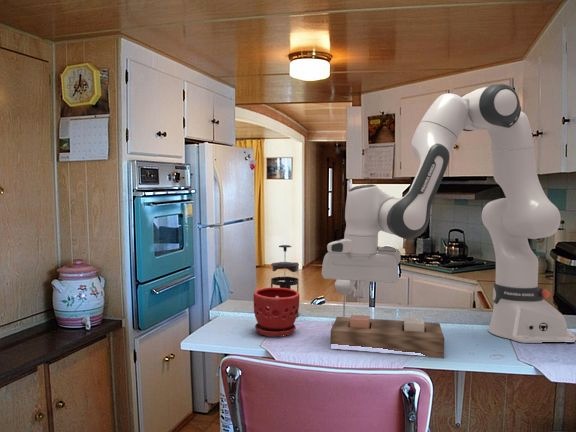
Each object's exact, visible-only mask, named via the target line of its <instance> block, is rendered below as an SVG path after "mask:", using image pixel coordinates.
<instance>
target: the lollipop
mask: <svg viewBox="0 0 576 432" xmlns="http://www.w3.org/2000/svg"><path fill="white" fill-rule="evenodd" d="M354 286H355V287H356V284H355V285H354ZM334 289H335V291H336V292H337V293H338V295H341V296H343V304H342V305H343V308H342V309H343V310H342V313H343V315H342V317H346V314H345V313H346V296H348V295H350V294H352V293H353V292H354V291H353V290H352V288H351V286H350V280H337V279H335V282H334Z"/></svg>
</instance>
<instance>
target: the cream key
mask: <svg viewBox="0 0 576 432" xmlns="http://www.w3.org/2000/svg"><path fill="white" fill-rule="evenodd" d="M403 321H404V331H413V332H424V322H425V320H424V318H415V317H412V318H410V317H404V318H403Z"/></svg>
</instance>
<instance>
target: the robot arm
mask: <svg viewBox="0 0 576 432" xmlns="http://www.w3.org/2000/svg"><path fill="white" fill-rule="evenodd" d="M481 130H485V131H486V132H487V133H488V135H489V138H490V151H491V162H492V173H493V180H494V181H495V182H496V184H498V185H499V187H500V188H501V189H502V192H503V194H504V196H505V197H502V198H498V199H494V200H491V201H489V202H487V203H486V205H484V206H483V209H482V211H481V221H482V223H483V225H484V227H485V228H486V229H487V231H488V233H489V236H490V238H491V242H492V245H493V250H494V255H495V282H494V283H493V288H492V301H493V308H492V314H491V317H490V318H491V319H490V321H489V322H490V323H489V325H488V328H487V331H488V332H489V333H491V334H493V335H495V336H497V337H501V338H505V339H509V340H513V341H516V342H518V343H522V344H523V343H525V344H526V343H528V344H529V343H530V344H531V343H532V344H535V343H536V344H543V343H542V342H565V341H575V340H576V335H575V334H574V333H573V332H571V331H570V330H568V325H567V321H566V318H565V317H564V315H563V314H562V313H561V312H560V311H559V310H558V309H556V308H555V307H554V306H553V305H551V304H550V303H549V302H547V300H545V298H546V299H547V298H548V299H549V298H550V297H551V292H550V291H549V290H547V289H545V288H543V287H540V286H539V284H538V282H539V259H538V257H537V255H536V254H535V252H533V250H532V248H531V246H530V243H529V239H530V240H531V239H532V240H537V239H544V238H549V237H551V236H554V234H556V232H557V231H558V230H559V227H560V225H561V220H562V219H561V213H560V210H559V209H558V207H557V206H556V205H555V204H554V203H553V202H552V201H551V200H550V199H549V198H548V196H547V195H546V194H545V191H544V190H543V186H542V185H541V183H540V180H539V176H538V171H537V162H536V155H535V154H536V153H535V145H534V136H533V132H532V131H533V130H532V128H531V124H530V121H529V117H528V116H527V114H526V113H525V112H524V111H522V108H521V102H520V98H519V95H518V93H517V92H516V90H515V89H514V88H513V87H512V86H510V85H508V84H502V83H498V84H497V83H496V84H492V85H489V86H484V87H480V88H477V89H474V90H473V91H471V92H468V93H466V94H463V95H461V96H460V95H458V94H456V93H452V92H451V93H450V92H449V93H443V94H441V95H439V96H438V97H437V98H436V99H435V100H434V101H433V103H432V104H431V105H430V107H429V108H428V109H427V111H426V112H425V114H424V115H423V116H422V119H420V122H419V123H418V125H417V127H416V129H415V131H414V133H413V136H412V140H411V143H410V145H411V151H412V153H413V154H414V156H415V157H416V159H418V160H419V166H418V167H419V168H418V170H417V172H416V174H415V176H414V179H413V181H412V184H411V185H410V187H409V190H408V191H407V193H406V194H405V195H404V196H403V197H400V198H398V197H395V196H393V195H390V194H388V193H386V192H385V191H383V190H382V189H380V188H379V187H378V185H377V184H372V183H371V184H370V183H369V184H362V185H357V186H353V187H351V188H350V189H349V190H348V192H347V195H346V201H345V208H344V209H345V210H344V212H345V213H344V220H345V225H346V226H345V230H344V237H343V238H342V239H337V240H335V241H331V242H329V243H328V244H327V245H326V248H327V252H326V253H325V255H324V256H323V261H322V266H321V276H322V278H323V279H324V280H350V286H351V288H352V290H353V291H352V292H353V296H352V297H353V298H358V299H365V297H366V291H367V289H368V288H369V287H370V282H373V283H389V284H396V283H397V282H398V281H399V266H398V265H399V264H400V262H401V260H402V259H401V256H402V255H401V252H400V251H399V250H398V249H397V248H395V247H392V246H391V247H390V246H388V247H386V246H378V243H379V241H378V240H379V232H380V231H381V232H384V233H387V234H390V235H394V236H397V237H400V238H401V239H404V240H411V239H416V238H418V237H419V236H421V235H422V234H423V233H424V232H425V231H426V229H427V227H428V225H429V221H430V214H431V207H432V204H433V200H434V199H435V196H436V194H437V192H438V191H439V187H440V185H441V182H442V180H443V178H444V175H445V173H446V171H447V168H448V165H449V162H450V156H451V153H452V152H453V150H454V147H455V146H456V144H457V142H458V140H459V138H460V136H461V134H462V132H463V131H464V132H473V131H481ZM356 282H363V287H364V288H363V289H362V290H361V289H357V287H356ZM354 285H355V286H354Z"/></svg>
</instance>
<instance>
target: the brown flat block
mask: <svg viewBox="0 0 576 432" xmlns="http://www.w3.org/2000/svg"><path fill="white" fill-rule="evenodd" d="M350 318H351V316H349V317H348V316H347V317H346V316H345V317H343V316H336V318H335V320H334V322H333V325H332V326H331V328H330V339H329V340H330V344H338V345H349V346H361V347H372V348H383V349H388V350H394V351H402V352H415V353H421V354H423V355H425V356H428V357H427V358H435V359H437V358H439V359H444V358H445V337H444V332H443V330H442V327H441V324H440V322H427V321H424V332H413V331H404V320H395V319H380V318H379V319H378V318H370V329H368V328H354V327H350Z"/></svg>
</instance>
